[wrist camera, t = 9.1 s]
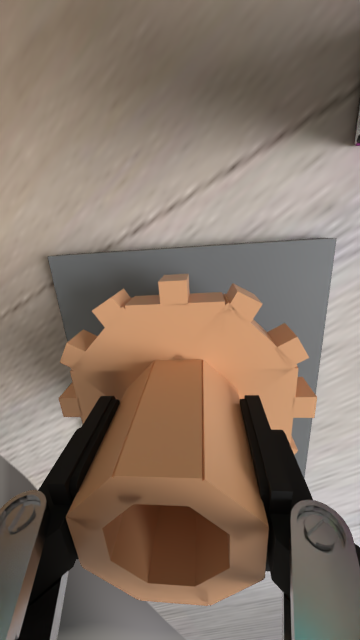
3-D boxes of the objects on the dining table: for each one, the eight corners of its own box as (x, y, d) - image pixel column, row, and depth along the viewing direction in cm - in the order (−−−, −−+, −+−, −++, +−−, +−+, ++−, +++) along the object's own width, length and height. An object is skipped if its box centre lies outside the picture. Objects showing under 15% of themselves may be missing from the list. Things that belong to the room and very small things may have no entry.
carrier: (289, 538, 22) (326, 671, 16) (118, 529, 24) (86, 645, 17) (325, 238, 14) (441, 241, 7) (58, 254, 16) (-52, 271, 9)
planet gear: (291, 473, 14) (369, 678, 8) (96, 468, 15) (18, 643, 9) (315, 267, 10) (512, 326, 4) (51, 280, 12) (-149, 345, 5)
